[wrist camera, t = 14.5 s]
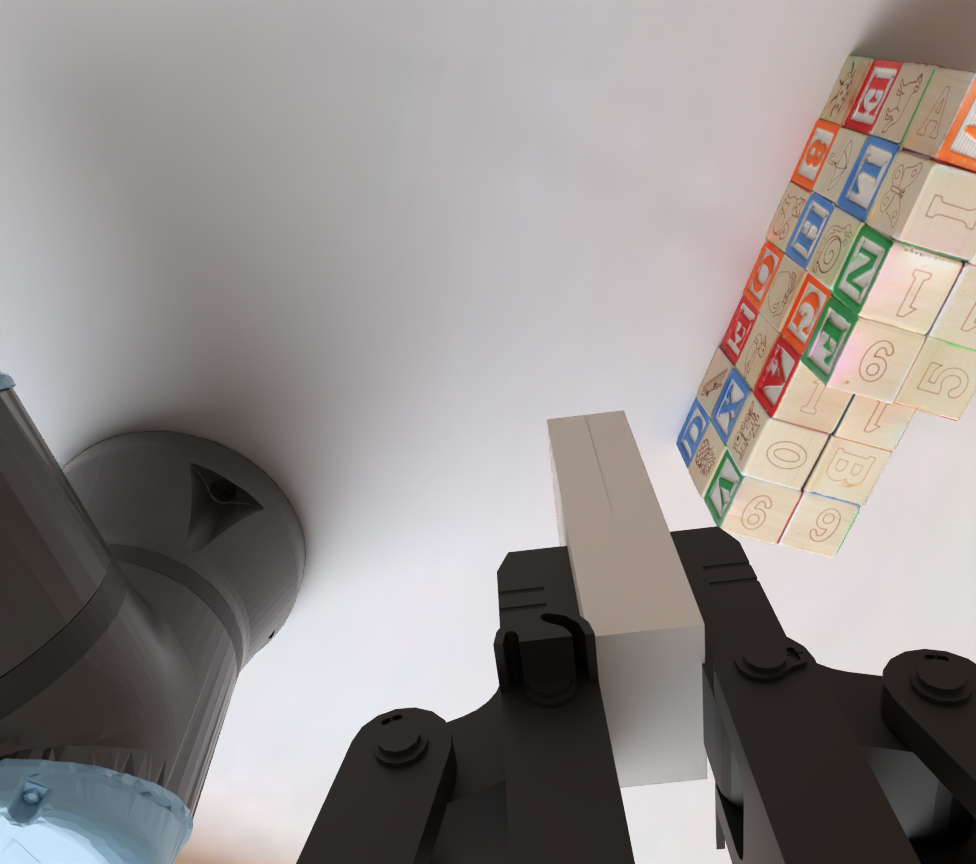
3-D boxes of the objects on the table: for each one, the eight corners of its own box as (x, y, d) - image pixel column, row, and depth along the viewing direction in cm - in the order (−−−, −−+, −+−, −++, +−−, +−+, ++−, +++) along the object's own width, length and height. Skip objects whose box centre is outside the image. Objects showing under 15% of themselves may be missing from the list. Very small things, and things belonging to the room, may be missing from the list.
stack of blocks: (773, 470, 52) (857, 600, 41) (672, 442, 51) (730, 568, 40) (964, 91, 43) (1137, 124, 32) (846, 49, 42) (982, 69, 31)
